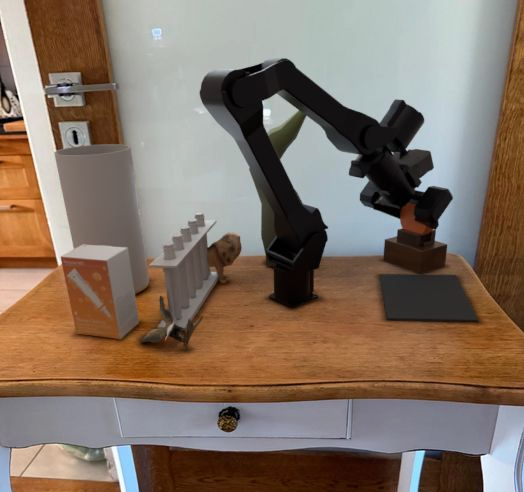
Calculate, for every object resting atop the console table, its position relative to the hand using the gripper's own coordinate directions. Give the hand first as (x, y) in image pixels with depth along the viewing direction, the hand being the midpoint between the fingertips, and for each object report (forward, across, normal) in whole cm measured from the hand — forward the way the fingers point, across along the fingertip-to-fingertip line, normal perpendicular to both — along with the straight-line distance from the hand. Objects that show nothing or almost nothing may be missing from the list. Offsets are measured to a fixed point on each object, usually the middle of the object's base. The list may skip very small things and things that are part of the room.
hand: (422, 223), depth 108 cm
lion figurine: (-22, +18, +33) cm, 43 cm away
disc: (0, 0, +3) cm, 3 cm away
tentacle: (-10, +17, +21) cm, 29 cm away
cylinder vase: (-33, +25, +44) cm, 61 cm away
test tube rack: (-27, +10, +38) cm, 48 cm away
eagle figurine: (-34, -2, +45) cm, 57 cm away
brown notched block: (+5, 0, +6) cm, 8 cm away
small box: (-38, +8, +50) cm, 63 cm away
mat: (-3, -13, +14) cm, 20 cm away
